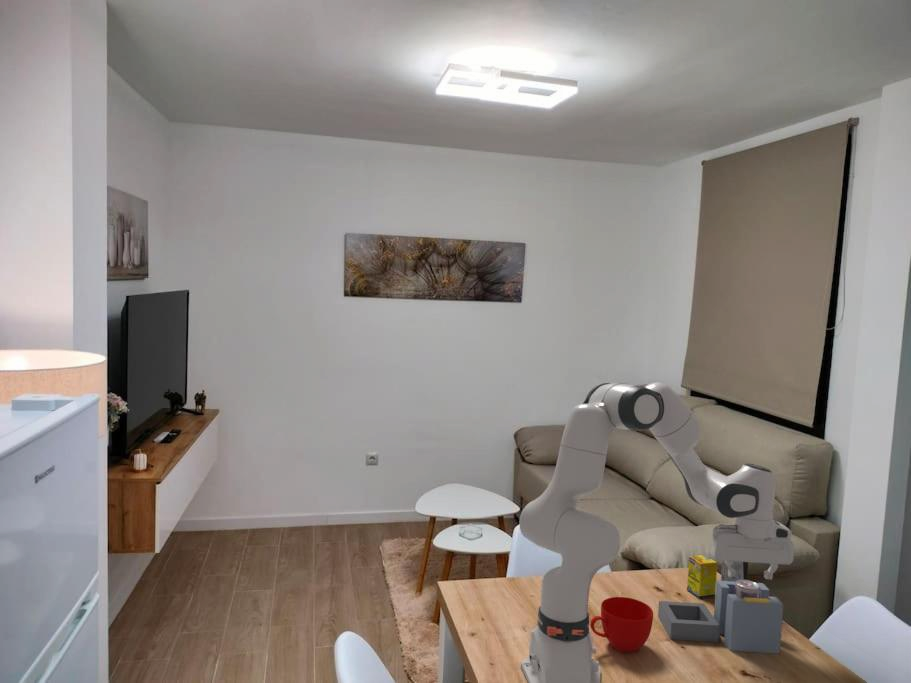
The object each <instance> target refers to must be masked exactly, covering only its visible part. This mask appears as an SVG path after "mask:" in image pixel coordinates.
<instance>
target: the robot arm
mask: <svg viewBox="0 0 911 683" xmlns="http://www.w3.org/2000/svg"><path fill="white" fill-rule="evenodd" d="M616 429H618V430H624V431H625V430H626V431H627V430H628V431H630V430H631V431H634V432H640V431H646V430H649V431H650V433H651V435H653V437H654V438H655V439H656V440H657V442H658V443H659V444H660V445H661V447H662V448H663V449H664V450H665V451H666V453H667V455H668V456H669V457H670V459H671V461H672V462H673V464H674V465H675V467H676V468H677V470H678V472H679V473H680V474H681V476H682V478H683V481H684V485H685V490H686V492H687V495H688V498H690V500H691V501H693V502H694V503H696V504H698V505H701V506H702V507H705V508H707V509H709V510H711V511H713V512H714V513H717V514H718V515H720V516H723V517H726V518H729V519H735V524H723V523H722V524H721V523H720V524H718V525H716V526H714V527H713V530H712V542H711V548H710V554H711V556H712V557H713V558H715V560H717V561H721V562H722V561H724V562H725V564H726V566H727V568H728V576H729V577H736V575H735V574H736V571H735V570H734V569H732V568H731V566H730V565H732V563H733V561H738V562H748V563H755V564H756V563H757V564H758V563H761V564H769V565H770V566H769V568H768V569H767V570H764V571H763V578H764V579H765V580H770V581H771V580H773V576H774V575H773V574H775V572H776V571H777V569H778V568H779V565H791V564H792V563H793V561H794V554H795V553H794V543H793V541H792V540H791V538H792V537H793V536H792V534H793V532H792V530H791V529H789V528H788V527H787V526H786V525H784V524H783V523H781V522H779V521H776V520H774V513H773V507H774V505H775V498H776V482H775V481H776V480H775V475H774V472H773V471H771V469H768V468H766V467H763V466H761V465H758V464H754V463H743V465H742V466H741V468H740V469H738V470H737V471H736V472H734V473H732V474H730V475H724V474H722V473H719V472H717V471H716V470H714V469H712V468H710V467H708V466H706V465H705V464H704V463H703V462H702V460H701V458H700V457H699V455H698V453H697V452H696V451H695V449H694V448H695V447H696V446H697V444H698V443H699V442H700V440H701V437H702V428H701V425H700V423H699V421H698V419H697V417H696V416H695V415H694V413H693V412H692V410H691V409H690V407H689V406H688V404H686V402H684V400H683V399H682V398H681V397H680V396H679V394H678V393H677V392H675V391H674V390H673V389H672V387H670V386H669V385H667V384H666V383H664V382H660V381H657V382H651V383H648V384H647V385H645V386H643V385H635V384H628V383H626V382H625V383H623V382H612V383H610V382H606V383H605V382H604V383H601V384H598V385H595V386H594V387H593V388H591V390H590V391H589V392H588V394H587V395H586V397H585V400H584V401H583V403H581V404H580V403H579V404H577V405H576V406H574V407H573V408H572V409H571V411H570V413H569V415H568V418H567V421H566V423H565V426H564V430H563V433H562V437H561V440H560V446H559V451H558V456H557V461H556V465H555V468H554V472H553V476H552V478H551V480H550V482H549V484H548V486H547V487H546V488H545V490H544V491H543V492H542V494H541V495H539V496H538V497H537V498H535V499H533V500H532V501H530V502H528V503H527V504H526V505H525V506H524V507H523V509H522V511H521V513H520V515H519V521H518V522H519V530H520V534H521V535H522V536H523V538H526V539H527V540H528V541H530V542H531V543H533V544H534V545H536V546H537V547H539V548H542V549H545V550H547V551H551V552H553V553H556V554H559V555H561V565H559V566H556V567H552V568H551V569H549V570H548V571H546V573H545V574H544V576H543V577H542V579H541V590H540V606H539V607H538V612H537V626H536V627H535V628H533V629H532V630H531V631H530V639H529V641H530V642H529V650H528V652H529V653H528V658H527V657H526V658H524V659H522V660H521V662H520V668H521V669H522V672H523V675H524V676H525V679H526V681H527V683H601V674H602V672H601V671H602V670H601V666H600V664H599V662H600V661H599V660H596V659H594V658H592V657H593V654H597V647H595V646H594V645H593V644H594V643H593V642H594V635H593V634H592V633H591V632H590V613H589V611H588V609H589V607H588V606H589V598H590V590H591V583H592V582H593V579H594V578H595V575H596V574H597V573H598V572H599V571H600V570H601V569H602V568H604V567H606V566H608V565H610V564H611V563H612V562H613V561H614V560H615V559H616V557H618V556H619V555H618V554H619V552H620V550H621V545H622V544H621V543H622V542H621V535H620V532H619V530H618V528H617V526H616V525H615V524H613V523H611V522H610V521H608V520H606V519H605V518H603V517H601V516H599V515H597V514H593V513H589V512H586V511H582V510H579V509H577V506H578V504H579V502H580V499H581V498H582V497H583V496H586V495H589V494H592V493H594V492H597V490H598V489H599V488H600V487H601V485H602V483H603V479H604V478H603V477H604V474H605V473H604V472H605V467H606V466H605V465H606V461H607V454H608V449H609V441H610V439H611V436H612V434H613V432H614V431H615V430H616Z"/></svg>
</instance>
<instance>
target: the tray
mask: <svg viewBox="0 0 911 683" xmlns="http://www.w3.org/2000/svg"><path fill="white" fill-rule="evenodd" d="M657 617H658V619H659V621H660V623H661V625H662V627H663V628H664V631H665V632H666V634H667V636H668V638H669V640H677V641H678V640H681V641H693V642H694V641H695V642H707V643H709V642H710V643H711V642H713V643H719V642H720V641H719V640H720V639H719V638H720V634H719V628H720V625H719V624H718V622H717V621H716V620H715V618H714V614H712V613H711V611H710V610H709V608H708V607H707V606H706V605H705V603H700V602H684V601H682V602H681V601H667V600H666V601H665V600H659V601H658V611H657Z"/></svg>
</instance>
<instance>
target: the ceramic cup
mask: <svg viewBox="0 0 911 683" xmlns="http://www.w3.org/2000/svg"><path fill="white" fill-rule="evenodd" d="M653 620H654V611H653V609H652V607H651V606H649V605H648V604H647V603H645V602H643V601H641V600H638V599H635V598H631V597H625V596H612V597H608V598H605V599H604V600H602V602H601V604H600V615H597V616H594V617H592V619H591V620H590V622H589V627H590V629H591V631H592V632H593V633H594V634H595V635H597V636H598V637H602V638H606V639H607V640H608V642H609V643H610V645H611V646H612V647H613V649H615V650H616V651H619V652H621V653H628V654H629V653H630V654H632V653H635V652H637V651H638V650H640V648H642V646H644V644H646V642H647V641H648V639H649V637H650V635H651V631H652V626H653V622H654V621H653ZM597 621H601V626H602V631H603V632H599V631H597V630H596V629H595V624H596V622H597Z"/></svg>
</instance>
